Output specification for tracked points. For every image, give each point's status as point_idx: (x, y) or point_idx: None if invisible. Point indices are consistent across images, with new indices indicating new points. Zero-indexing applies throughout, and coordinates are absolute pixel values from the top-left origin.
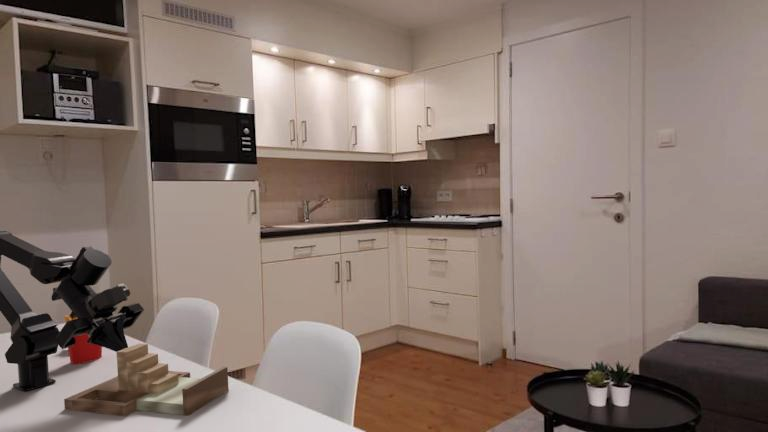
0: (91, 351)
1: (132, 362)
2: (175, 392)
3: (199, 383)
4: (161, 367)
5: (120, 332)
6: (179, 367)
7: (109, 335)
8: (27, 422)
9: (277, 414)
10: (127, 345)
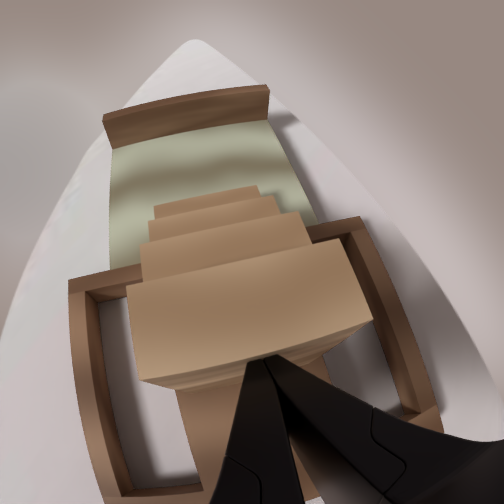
0: None
1: (307, 235)
2: (223, 176)
3: (219, 91)
4: (188, 213)
5: (271, 495)
6: (11, 432)
7: (439, 439)
8: (492, 406)
9: (193, 65)
10: (244, 385)
